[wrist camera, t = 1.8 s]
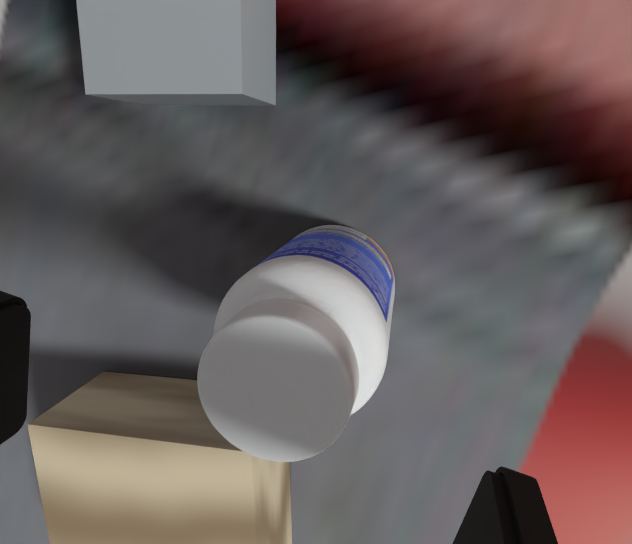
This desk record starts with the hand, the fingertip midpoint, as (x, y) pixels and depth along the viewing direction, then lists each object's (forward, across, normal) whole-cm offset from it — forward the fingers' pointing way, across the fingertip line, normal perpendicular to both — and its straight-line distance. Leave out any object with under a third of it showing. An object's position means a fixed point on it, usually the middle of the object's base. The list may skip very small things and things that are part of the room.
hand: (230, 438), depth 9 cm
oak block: (+12, +4, +12) cm, 18 cm away
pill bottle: (+12, 0, +1) cm, 12 cm away
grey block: (+12, +8, -8) cm, 17 cm away
